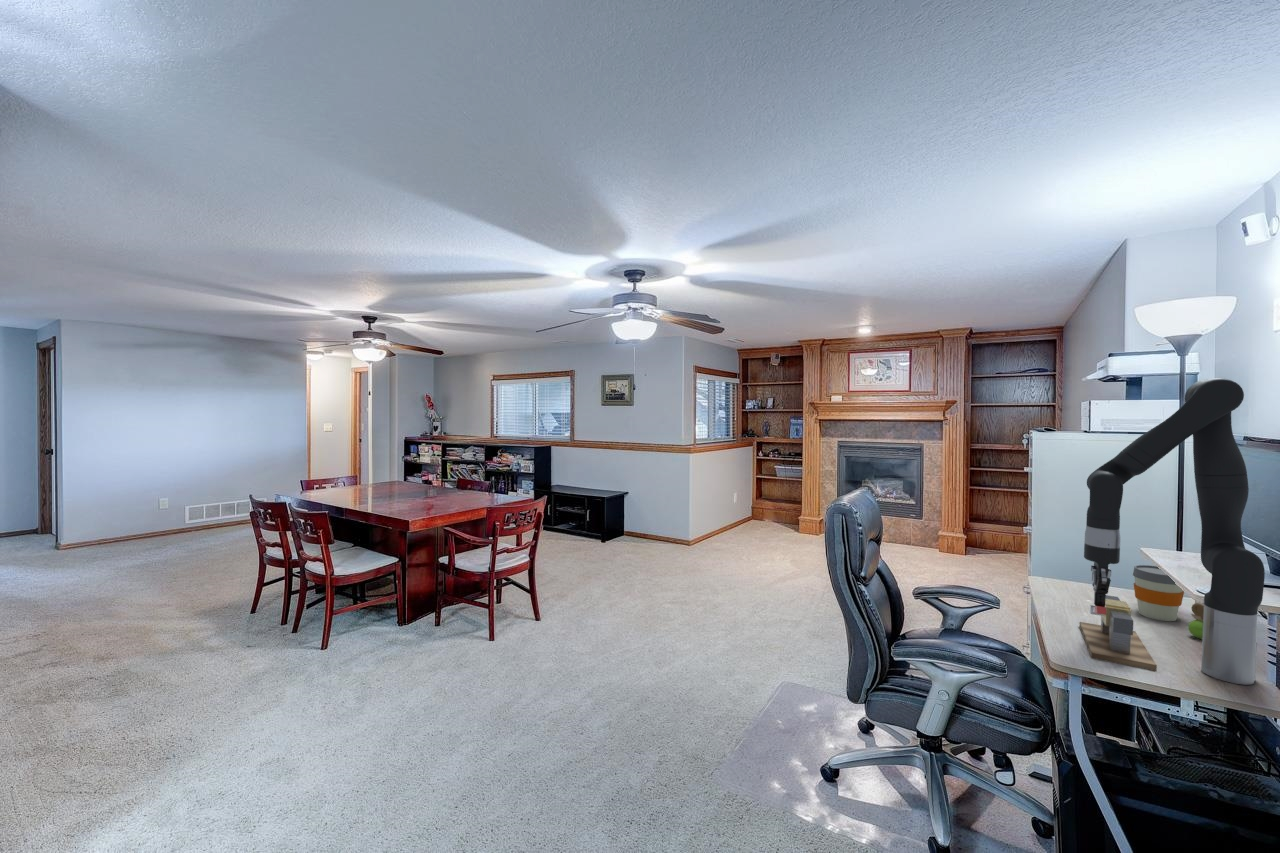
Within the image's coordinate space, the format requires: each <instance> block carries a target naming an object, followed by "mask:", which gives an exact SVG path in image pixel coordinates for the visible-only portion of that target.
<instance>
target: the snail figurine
mask: <svg viewBox="0 0 1280 853" xmlns="http://www.w3.org/2000/svg"><path fill="white" fill-rule="evenodd" d="M1190 610H1191V612H1192V613H1191V616H1192V617H1193V620H1191V621H1190V623H1188V628H1187V629H1188V631H1189V633H1190V634H1191V635H1192V636H1194V637H1195V638H1197V639H1200V640H1202V639H1203V617H1204V616H1203V615H1204V603H1202V602H1195V603H1193V604H1192V605H1191V609H1190Z"/></svg>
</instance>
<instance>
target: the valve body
mask: <svg viewBox="0 0 1280 853" xmlns="http://www.w3.org/2000/svg"><path fill="white" fill-rule="evenodd" d="M1105 607H1106V615H1103V616H1100V618H1101V619H1100V625H1101V632H1102V633H1104V634H1109V648H1110V650H1111V651H1115V652H1120V653H1126V654H1130V643H1131V635H1133V631H1134V619H1133V618H1132V610H1131V607H1130V606H1129V604H1128V603H1127V601H1125V600H1124V601H1122V600H1121V599H1120V597H1119V596H1113V595H1108V594H1106V599H1105Z"/></svg>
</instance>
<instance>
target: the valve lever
mask: <svg viewBox="0 0 1280 853" xmlns="http://www.w3.org/2000/svg"><path fill="white" fill-rule="evenodd" d="M1089 615H1096V616H1099V617H1101V616H1103V615H1106V607H1100V606H1095V605H1090V604H1089Z"/></svg>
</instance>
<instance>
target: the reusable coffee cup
mask: <svg viewBox="0 0 1280 853" xmlns="http://www.w3.org/2000/svg"><path fill="white" fill-rule="evenodd" d="M1158 567H1159V566H1158ZM1158 567H1157V565H1148V564H1146V565H1145V564H1139V565H1135V566H1133V573H1132V576H1133V578H1134V582H1133V590H1134V597H1135V598H1136V600H1137V606H1138V607H1137V609H1138V613H1139V614H1140V615H1141V616H1143V617H1146V618H1148V619H1153V620H1158V621H1164V622H1165V621H1166V622H1175V621H1176V620H1177V617H1178V613H1179V608H1180V606H1182V603H1183V598H1184V594H1185V591H1184V589H1183V590H1182V589H1181V588H1179V587H1178V586H1177V585H1176V584H1175V582H1174V581H1173V580H1172V579H1171V578H1170V577H1169V576H1168V575H1167V574H1165V573H1164V572H1163V571H1162V570H1161V569H1159V568H1158Z"/></svg>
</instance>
